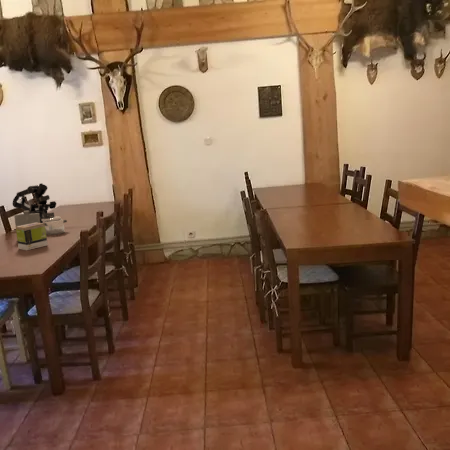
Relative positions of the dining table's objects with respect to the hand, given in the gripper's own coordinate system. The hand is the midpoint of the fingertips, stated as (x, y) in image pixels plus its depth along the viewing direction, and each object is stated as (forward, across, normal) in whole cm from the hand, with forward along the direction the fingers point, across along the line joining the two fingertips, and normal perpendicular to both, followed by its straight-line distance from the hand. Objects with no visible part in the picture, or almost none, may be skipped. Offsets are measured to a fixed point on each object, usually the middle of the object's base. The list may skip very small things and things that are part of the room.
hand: (46, 215), depth 386 cm
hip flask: (+25, -21, -8) cm, 34 cm away
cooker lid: (+8, 0, -5) cm, 10 cm away
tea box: (+43, -28, -26) cm, 58 cm away
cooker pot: (+18, 0, -2) cm, 19 cm away
